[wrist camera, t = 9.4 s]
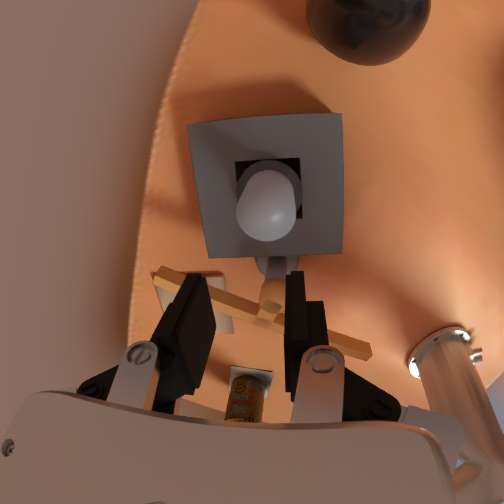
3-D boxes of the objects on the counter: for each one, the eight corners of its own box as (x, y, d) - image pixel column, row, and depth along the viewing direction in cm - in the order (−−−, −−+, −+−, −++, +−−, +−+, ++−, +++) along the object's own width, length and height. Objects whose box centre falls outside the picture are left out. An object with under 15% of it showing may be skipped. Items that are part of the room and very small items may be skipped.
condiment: (228, 391, 50) (217, 445, 40) (230, 364, 46) (218, 425, 36) (266, 397, 50) (260, 452, 39) (274, 371, 46) (269, 432, 35)
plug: (297, 150, 29) (305, 171, 19) (300, 203, 32) (308, 248, 22) (241, 154, 30) (220, 177, 20) (247, 206, 33) (231, 252, 23)
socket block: (333, 112, 27) (345, 114, 21) (333, 274, 36) (340, 305, 30) (200, 122, 29) (180, 126, 23) (224, 277, 38) (214, 308, 32)
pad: (223, 274, 37) (222, 277, 37) (234, 331, 42) (233, 334, 42) (154, 275, 39) (152, 277, 38) (171, 329, 43) (170, 331, 43)
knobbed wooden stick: (170, 233, 28) (162, 242, 26) (388, 320, 30) (393, 332, 29) (159, 273, 31) (152, 284, 29) (364, 349, 33) (366, 361, 31)
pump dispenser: (413, 30, 20) (491, -3, 7) (363, 88, 25) (429, 78, 12) (338, -26, 18) (369, -99, 5) (283, 31, 23) (281, -31, 10)
